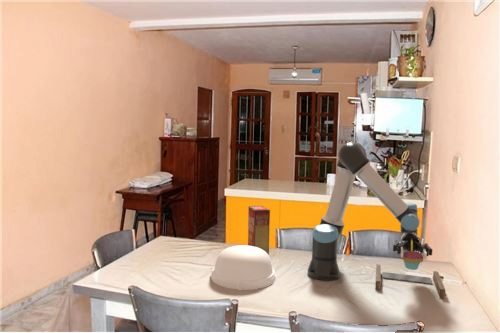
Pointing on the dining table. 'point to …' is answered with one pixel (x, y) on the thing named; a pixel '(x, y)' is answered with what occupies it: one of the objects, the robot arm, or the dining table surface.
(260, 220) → the food packaging
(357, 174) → the robot arm
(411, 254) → the cupcake
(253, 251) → the dome cover
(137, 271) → the dining table surface
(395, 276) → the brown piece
